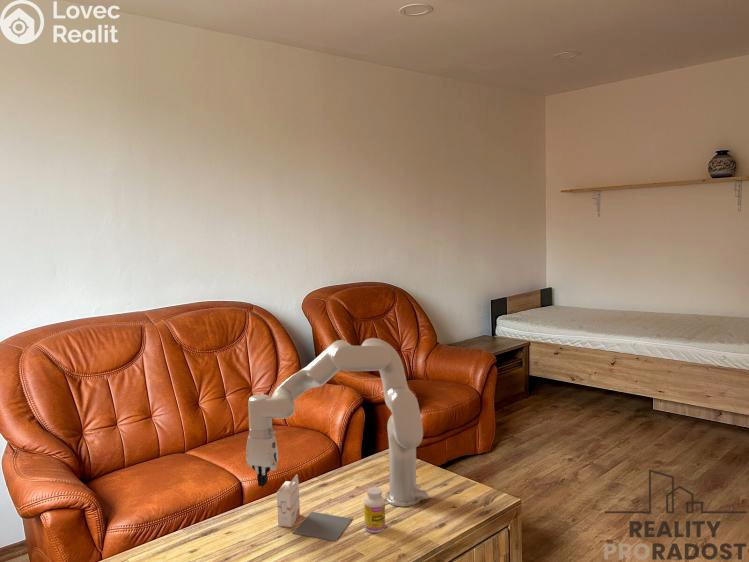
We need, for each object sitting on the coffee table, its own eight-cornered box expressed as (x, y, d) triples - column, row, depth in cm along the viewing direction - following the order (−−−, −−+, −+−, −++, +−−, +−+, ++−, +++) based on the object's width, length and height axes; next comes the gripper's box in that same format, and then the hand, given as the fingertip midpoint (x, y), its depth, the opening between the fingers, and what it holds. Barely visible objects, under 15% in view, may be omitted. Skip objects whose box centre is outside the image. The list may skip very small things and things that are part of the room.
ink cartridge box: (286, 513, 196) (285, 472, 194) (300, 514, 195) (299, 473, 193) (277, 526, 188) (275, 483, 186) (291, 527, 187) (290, 484, 185)
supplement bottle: (370, 536, 181) (369, 497, 180) (361, 526, 187) (360, 488, 186) (388, 530, 184) (388, 492, 183) (379, 521, 190) (378, 484, 189)
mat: (352, 519, 191) (352, 518, 191) (336, 541, 178) (335, 540, 178) (311, 512, 196) (311, 511, 196) (292, 533, 183) (292, 532, 183)
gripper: (286, 430, 192) (287, 483, 194) (247, 426, 197) (249, 477, 199) (275, 438, 185) (276, 493, 187) (235, 433, 190) (237, 486, 192)
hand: (262, 484), depth 193 cm, fingers closed
